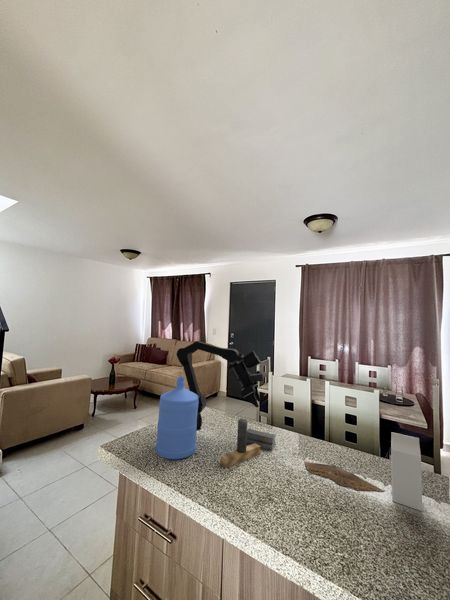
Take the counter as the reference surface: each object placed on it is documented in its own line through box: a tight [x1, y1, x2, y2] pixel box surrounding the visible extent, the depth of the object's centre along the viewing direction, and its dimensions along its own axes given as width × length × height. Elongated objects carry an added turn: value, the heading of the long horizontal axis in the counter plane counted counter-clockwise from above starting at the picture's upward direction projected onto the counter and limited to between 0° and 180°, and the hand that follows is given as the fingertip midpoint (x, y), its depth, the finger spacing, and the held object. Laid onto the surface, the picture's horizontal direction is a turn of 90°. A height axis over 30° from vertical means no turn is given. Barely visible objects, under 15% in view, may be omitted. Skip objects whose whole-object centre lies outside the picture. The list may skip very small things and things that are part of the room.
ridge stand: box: [246, 428, 276, 452], centre depth 108 cm, size 12×6×4 cm, turn 66°
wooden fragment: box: [304, 461, 386, 493], centre depth 87 cm, size 26×11×1 cm, turn 53°
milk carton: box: [390, 431, 423, 512], centre depth 77 cm, size 7×7×19 cm
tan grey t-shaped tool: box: [219, 418, 261, 468], centre depth 96 cm, size 18×4×14 cm, turn 129°
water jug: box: [155, 376, 199, 460], centre depth 100 cm, size 16×16×28 cm
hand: (258, 404), depth 116 cm, fingers open, 9 cm apart
